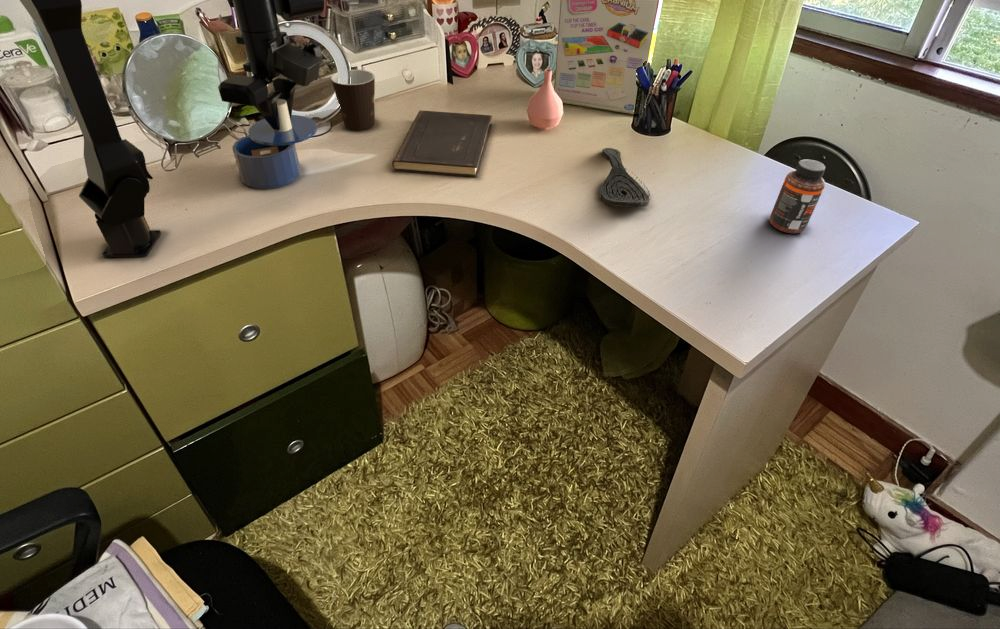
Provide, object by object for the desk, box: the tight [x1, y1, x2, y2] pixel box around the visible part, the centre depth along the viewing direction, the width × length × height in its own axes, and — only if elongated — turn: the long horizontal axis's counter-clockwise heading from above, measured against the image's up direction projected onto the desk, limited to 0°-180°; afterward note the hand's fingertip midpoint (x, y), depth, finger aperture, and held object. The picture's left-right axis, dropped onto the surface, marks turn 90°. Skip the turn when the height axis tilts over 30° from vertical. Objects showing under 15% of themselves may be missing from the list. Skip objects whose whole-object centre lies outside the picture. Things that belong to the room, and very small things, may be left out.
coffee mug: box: [330, 68, 376, 132], centre depth 122 cm, size 12×9×10 cm
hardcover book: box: [391, 109, 493, 178], centre depth 116 cm, size 16×23×2 cm
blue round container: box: [232, 134, 302, 190], centre depth 105 cm, size 10×10×6 cm
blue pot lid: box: [248, 99, 318, 146], centre depth 98 cm, size 11×11×6 cm
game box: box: [553, 0, 663, 115], centre depth 126 cm, size 21×6×27 cm, turn 69°
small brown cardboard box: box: [251, 146, 279, 157], centre depth 105 cm, size 4×5×4 cm
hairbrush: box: [599, 147, 651, 208], centre depth 107 cm, size 8×4×25 cm
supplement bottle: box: [769, 158, 826, 234], centre depth 95 cm, size 6×6×11 cm
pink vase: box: [526, 68, 564, 130], centre depth 121 cm, size 8×8×12 cm
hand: (282, 125), depth 99 cm, fingers closed on blue pot lid, 3 cm apart
